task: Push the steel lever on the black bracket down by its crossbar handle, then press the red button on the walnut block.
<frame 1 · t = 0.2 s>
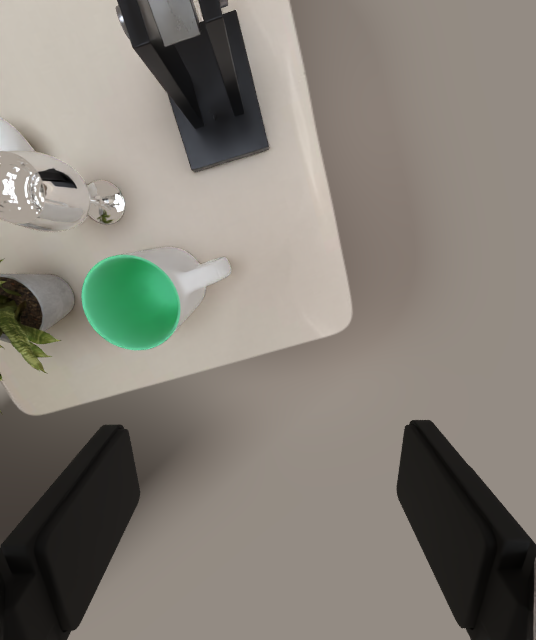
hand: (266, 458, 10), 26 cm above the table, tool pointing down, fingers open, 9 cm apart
wineglass: (105, 202, 32), on the table
mug: (186, 275, 34), on the table
bracket: (214, 100, 29), on the table
house plant: (47, 303, 35), on the table
plain white apple: (21, 163, 31), on the table
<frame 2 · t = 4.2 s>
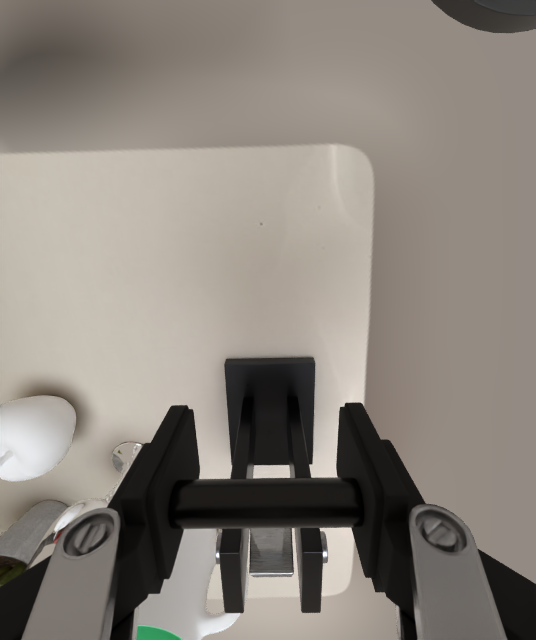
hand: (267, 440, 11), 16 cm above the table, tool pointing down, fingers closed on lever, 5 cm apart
wineglass: (134, 458, 31), on the table
mug: (198, 527, 34), on the table
bracket: (270, 410, 29), on the table
house plant: (46, 521, 34), on the table
lever: (269, 533, 13), point 16 cm above the table, hinge at 30.0°, touching gripper
plain white apple: (57, 411, 29), on the table
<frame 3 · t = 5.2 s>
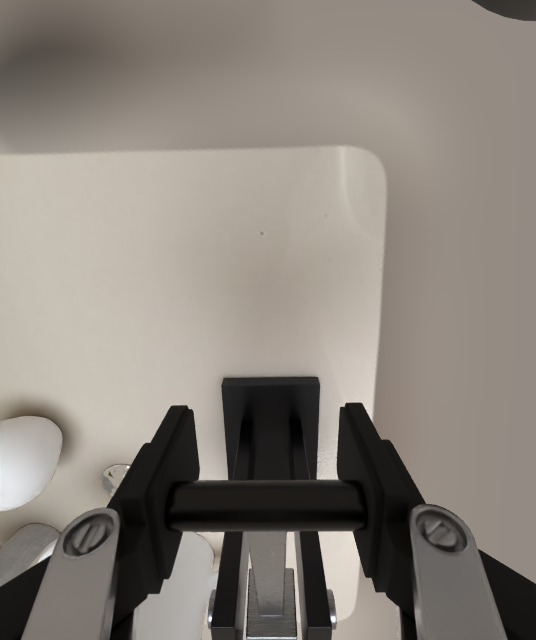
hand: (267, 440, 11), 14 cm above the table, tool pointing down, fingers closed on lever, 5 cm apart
wineglass: (125, 480, 29), on the table
mug: (194, 551, 32), on the table
bracket: (271, 431, 27), on the table
house plant: (33, 544, 32), on the table
lever: (269, 574, 12), point 15 cm above the table, hinge at 17.4°, touching gripper
plain white apple: (42, 431, 27), on the table
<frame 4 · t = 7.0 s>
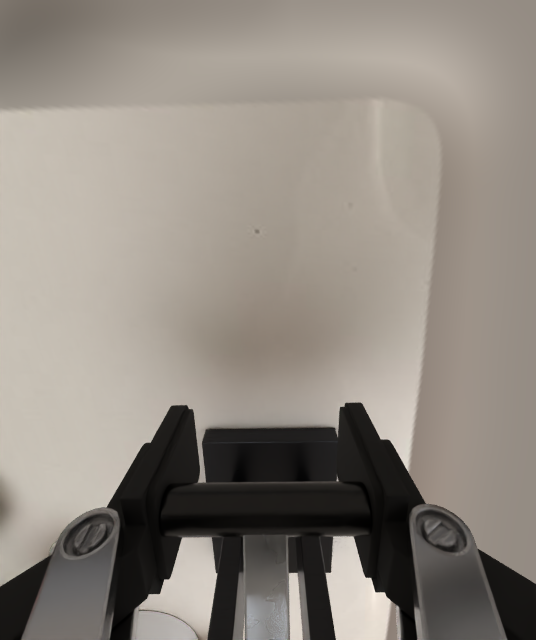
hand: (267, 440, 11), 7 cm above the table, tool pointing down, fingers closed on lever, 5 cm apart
mug: (174, 637, 25), on the table
bracket: (271, 496, 20), on the table
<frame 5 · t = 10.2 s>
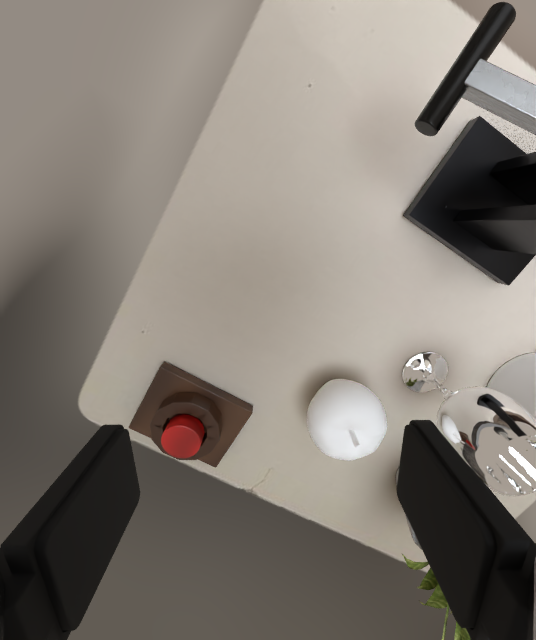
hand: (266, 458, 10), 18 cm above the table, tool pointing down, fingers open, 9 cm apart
wineglass: (423, 371, 30), on the table
bracket: (485, 208, 25), on the table
button: (183, 435, 28), point 3 cm above the table, slide at 0.1 cm
house plant: (415, 482, 34), on the table
plain white apple: (336, 395, 30), on the table
button block: (192, 413, 31), on the table
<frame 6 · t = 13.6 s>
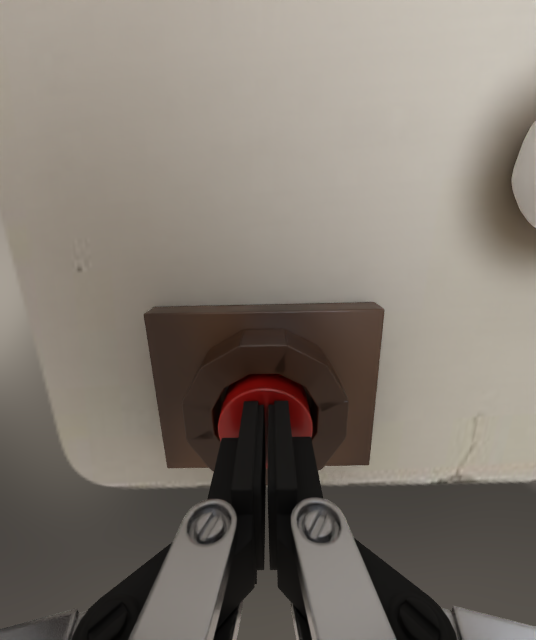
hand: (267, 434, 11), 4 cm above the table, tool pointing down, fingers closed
button: (265, 416, 12), point 3 cm above the table, slide at -0.7 cm, touching gripper
button block: (266, 383, 15), on the table
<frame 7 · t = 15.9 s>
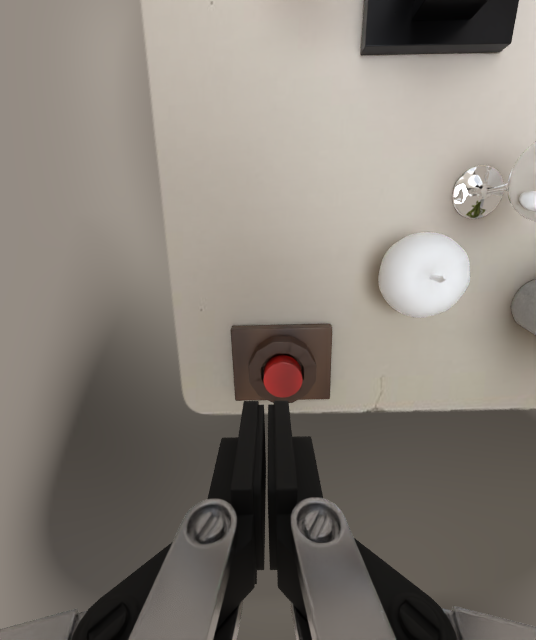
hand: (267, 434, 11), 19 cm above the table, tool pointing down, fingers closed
wineglass: (476, 192, 27), on the table
button: (282, 376, 28), point 3 cm above the table, slide at 0.1 cm
plain white apple: (402, 269, 29), on the table
button block: (281, 360, 31), on the table
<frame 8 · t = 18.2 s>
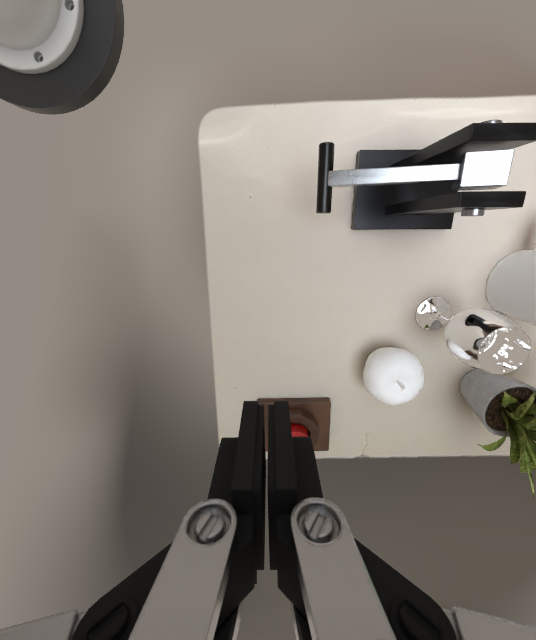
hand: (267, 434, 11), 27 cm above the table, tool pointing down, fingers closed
wineglass: (432, 313, 38), on the table
mug: (520, 266, 36), on the table
bracket: (402, 192, 34), on the table
button: (295, 438, 39), point 3 cm above the table, slide at 0.1 cm
house plant: (480, 391, 41), on the table
lever: (402, 175, 23), point 11 cm above the table, hinge at -17.8°
plain white apple: (380, 361, 40), on the table
button block: (293, 422, 43), on the table
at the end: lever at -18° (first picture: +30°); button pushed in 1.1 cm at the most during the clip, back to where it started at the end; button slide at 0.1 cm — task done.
